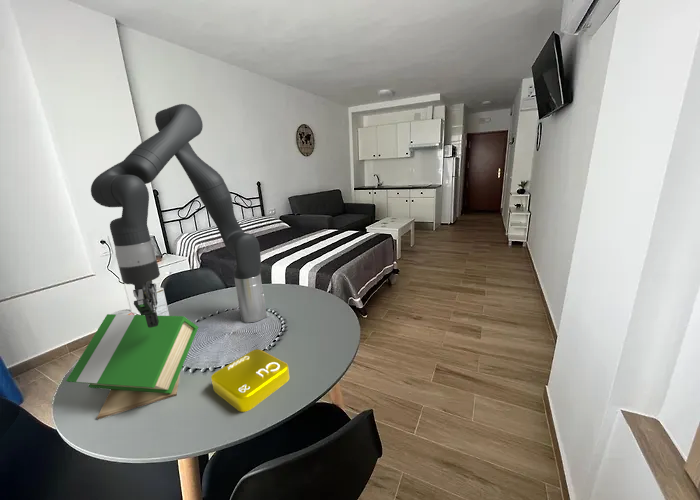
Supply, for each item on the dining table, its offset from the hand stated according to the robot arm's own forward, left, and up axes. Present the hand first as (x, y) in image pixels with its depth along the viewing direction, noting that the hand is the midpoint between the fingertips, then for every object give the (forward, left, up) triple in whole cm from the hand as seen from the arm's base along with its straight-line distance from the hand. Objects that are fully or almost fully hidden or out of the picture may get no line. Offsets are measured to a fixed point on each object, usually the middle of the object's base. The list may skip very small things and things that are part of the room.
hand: (153, 325), depth 74 cm
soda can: (+14, -27, -17) cm, 35 cm away
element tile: (-21, +11, -18) cm, 30 cm away
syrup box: (+7, -39, -17) cm, 43 cm away
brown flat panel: (+5, 0, -17) cm, 18 cm away
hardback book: (-4, +3, -8) cm, 10 cm away
